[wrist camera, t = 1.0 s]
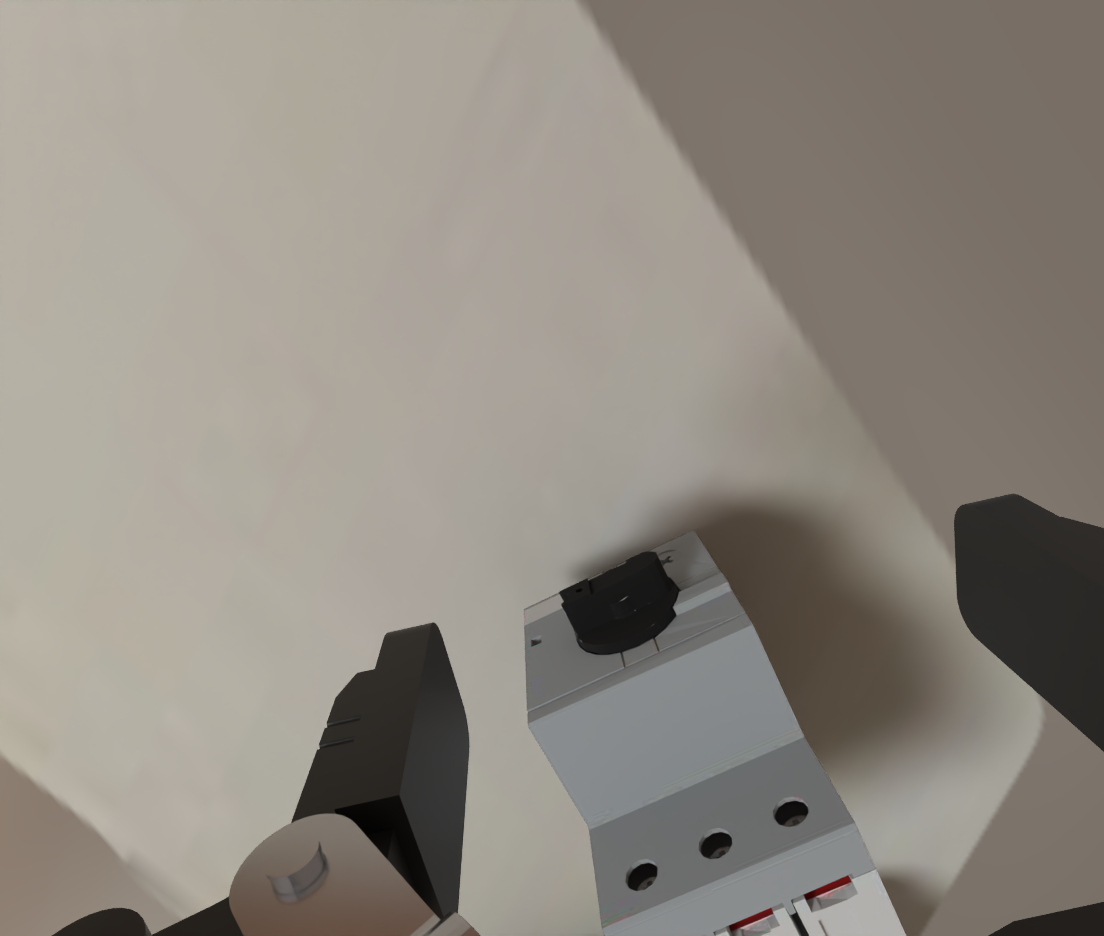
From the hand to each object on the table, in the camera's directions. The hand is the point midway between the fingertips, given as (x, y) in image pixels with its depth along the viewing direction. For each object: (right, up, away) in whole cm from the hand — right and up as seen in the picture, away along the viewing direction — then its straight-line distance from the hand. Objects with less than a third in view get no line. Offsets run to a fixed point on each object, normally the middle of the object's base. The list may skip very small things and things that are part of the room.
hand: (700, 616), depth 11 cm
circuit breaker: (+2, -5, +23) cm, 24 cm away
